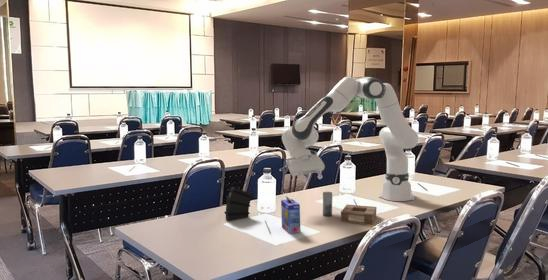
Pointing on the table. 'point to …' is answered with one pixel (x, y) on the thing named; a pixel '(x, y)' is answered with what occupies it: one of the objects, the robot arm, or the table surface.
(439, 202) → the table surface
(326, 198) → the barrel peg
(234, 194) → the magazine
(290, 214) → the ink cartridge box
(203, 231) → the table surface
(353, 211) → the socket block
